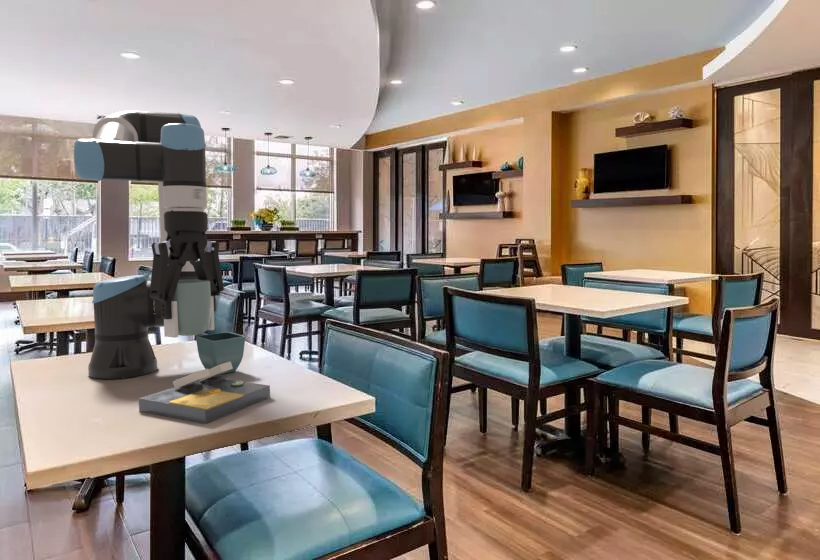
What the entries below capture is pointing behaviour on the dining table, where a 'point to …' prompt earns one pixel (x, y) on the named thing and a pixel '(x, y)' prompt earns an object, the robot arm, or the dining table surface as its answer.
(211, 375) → the rocker
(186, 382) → the rocker
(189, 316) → the cup
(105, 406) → the dining table surface
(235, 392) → the panel
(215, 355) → the flower pot
